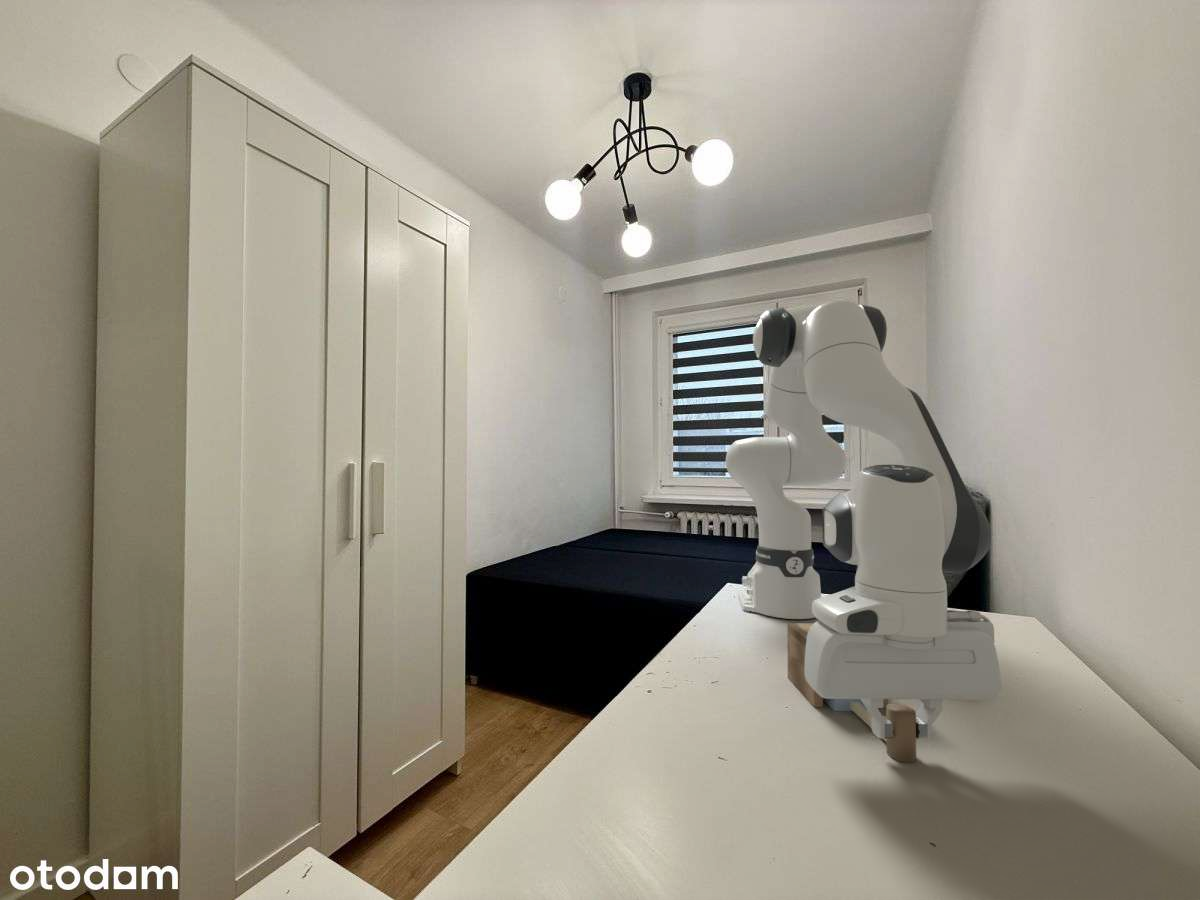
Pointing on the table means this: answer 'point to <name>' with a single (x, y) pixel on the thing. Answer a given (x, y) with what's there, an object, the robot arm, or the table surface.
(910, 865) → the table surface
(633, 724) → the table surface
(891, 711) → the block with stick handle
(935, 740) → the table surface
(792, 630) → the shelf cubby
